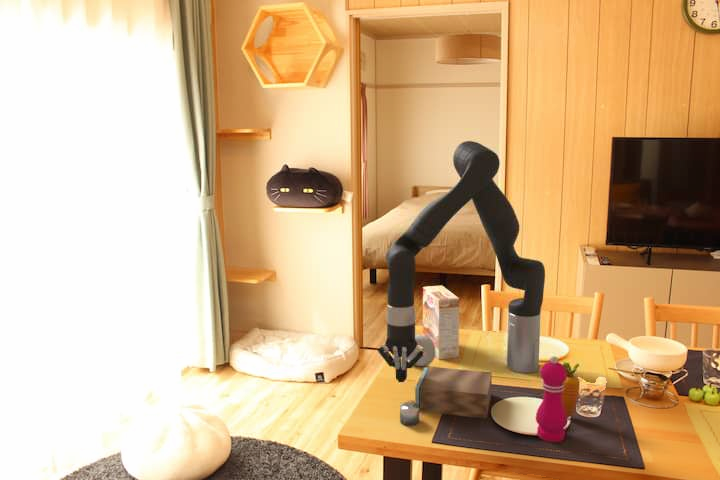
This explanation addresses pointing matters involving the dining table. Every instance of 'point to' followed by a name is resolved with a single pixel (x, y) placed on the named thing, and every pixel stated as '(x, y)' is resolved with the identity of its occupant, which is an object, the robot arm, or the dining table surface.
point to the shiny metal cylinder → (409, 414)
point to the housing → (456, 392)
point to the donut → (428, 348)
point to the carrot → (570, 389)
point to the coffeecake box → (441, 320)
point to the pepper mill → (552, 402)
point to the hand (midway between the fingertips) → (401, 381)
